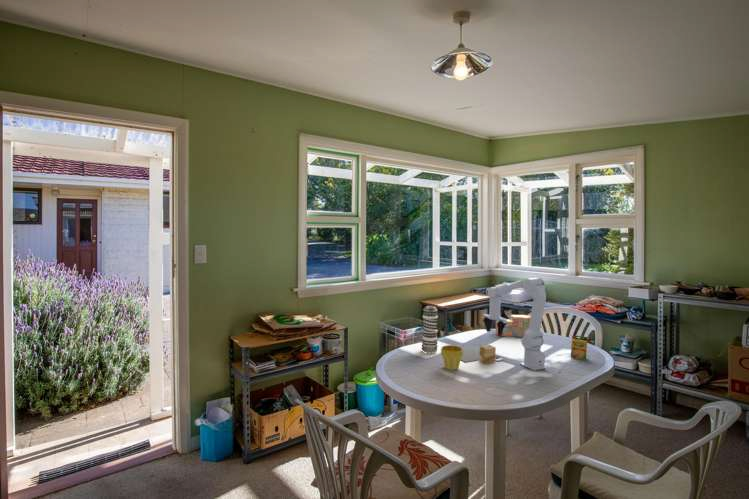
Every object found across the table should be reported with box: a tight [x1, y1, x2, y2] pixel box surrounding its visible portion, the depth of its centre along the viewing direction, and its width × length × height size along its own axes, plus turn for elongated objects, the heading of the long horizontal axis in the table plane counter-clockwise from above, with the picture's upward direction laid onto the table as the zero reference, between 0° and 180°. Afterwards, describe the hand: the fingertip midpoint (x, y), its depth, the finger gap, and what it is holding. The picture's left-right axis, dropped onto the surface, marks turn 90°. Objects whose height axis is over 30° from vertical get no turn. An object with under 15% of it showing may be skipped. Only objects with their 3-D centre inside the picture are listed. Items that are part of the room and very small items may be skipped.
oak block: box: [478, 344, 496, 365], centre depth 214 cm, size 5×6×8 cm
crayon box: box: [570, 334, 588, 361], centre depth 221 cm, size 7×3×12 cm, turn 62°
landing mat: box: [460, 345, 500, 364], centre depth 226 cm, size 18×22×1 cm
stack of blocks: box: [495, 314, 531, 338], centre depth 262 cm, size 21×6×12 cm, turn 85°
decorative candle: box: [421, 305, 440, 354], centre depth 228 cm, size 9×9×25 cm
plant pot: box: [440, 344, 463, 371], centre depth 206 cm, size 10×10×10 cm
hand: (494, 333), depth 230 cm, fingers open, 7 cm apart
